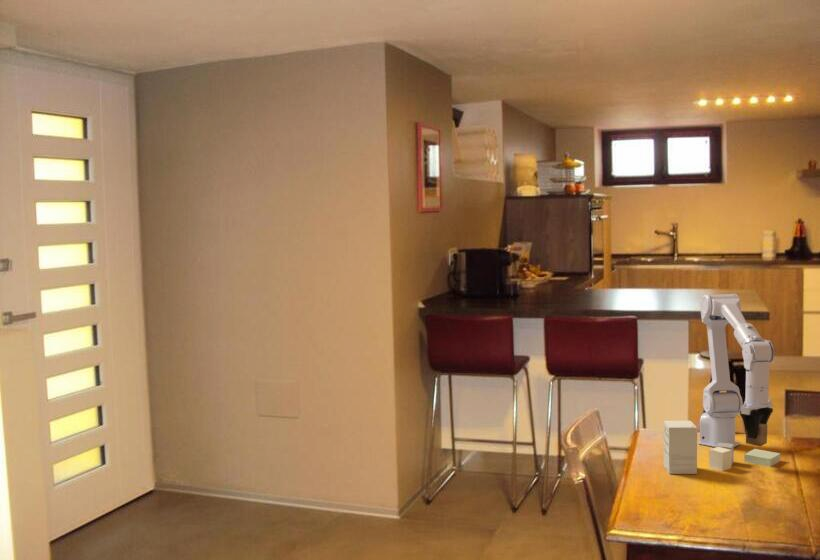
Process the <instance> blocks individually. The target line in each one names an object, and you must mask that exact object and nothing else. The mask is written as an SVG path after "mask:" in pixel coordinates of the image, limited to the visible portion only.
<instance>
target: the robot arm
mask: <svg viewBox="0 0 820 560" xmlns="http://www.w3.org/2000/svg"><path fill="white" fill-rule="evenodd" d="M699 307H700V317H701V323H703V324H704V325H706V331H707V341H708V351H709V360H710V372H711V373H710V374H711V382H709V383H708V384H707V385H706V386H705V387H704V388H703V391H702V392H703V394H702V395H703V396H702V406H703V407H702V408H703V409H704V412H703V413H702V414H701V416H700V419H699V430H698V431H699V432H698V433H699V437H698V439H699V441H697V445H703V446H708V447H713V448H716V445H717V444H718V442H720V443H728V444H734V448H736V447H737V446H739V445H741V442H739V441H736V417H738V416H739V415H740V417H741V418H742V420H743V423H744V426H745V432H746V431H747V435H748V437H749V438H754V439H756V438H757V435H758V429H759V424H766V425H767V426H768V422H769V419H770V417H771V415H772V413H773V412H774V409H773V408H772V407H773V406H774V405H773V403H772V397H769V391H770V390H769V389H770V363H772V362H773V360H774V358H775V347H774V345H773V343H772V342H771V340H768V339H767V340H766V339H765V338H763V337H762V336H761V335H760V333H759V331H758V330H757V328H756V326H754V325H753V324H752V323H749V322H747V321H746V318H745V316H744V315H743V313H742V310H741V309H742V308H741V307H742V303H741V298H740V296H739V295H738V294H737V293H729V294H726V293H724V294H708V293H706V294H704V295H703V296H702V297H701V300H700V304H699ZM728 324H730V326H732V328H733V329H734V331H733V337H734V338H735V339H736V341H737V343H738V344H739V347H741V349H742V350H741V353H742V359H743V368H744V369H745V394H744V395H745V398H744V400H743V397H742V396H741V392H740V388H739V386H738V385H736V384H735V383H734V382H732V381H731V377H730V376H731V375H730V366H729V355H728V346H727V336H726V326H727V325H728ZM743 401H744V402H743Z"/></svg>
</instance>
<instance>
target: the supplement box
mask: <svg viewBox="0 0 820 560" xmlns="http://www.w3.org/2000/svg"><path fill="white" fill-rule="evenodd" d="M663 466H664V469H665V470H666V472H667V473H668V474H669V475H697V474H698V427H697V426H696V425H695V424H694V422H692V421H691V420H663Z"/></svg>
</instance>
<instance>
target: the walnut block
mask: <svg viewBox="0 0 820 560" xmlns="http://www.w3.org/2000/svg"><path fill="white" fill-rule="evenodd" d="M767 443H768V424H767V425H766V424H759V429H758V435H757V438H756V439H754V438H749V437H748V435H747V431H746V430H745V444H747V445H752V446H757V447H762V446H764V445H766V444H767Z"/></svg>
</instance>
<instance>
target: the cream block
mask: <svg viewBox="0 0 820 560" xmlns="http://www.w3.org/2000/svg"><path fill="white" fill-rule="evenodd" d="M731 454H732V450H729V449H725V448H721V447H713V448H709V452H708V455H709V456H708V457H709V458H708V459H709V461H708V468H710V469H713V470H717V471H720V472H725V471H726V470H730V469H732V465H731Z"/></svg>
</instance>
